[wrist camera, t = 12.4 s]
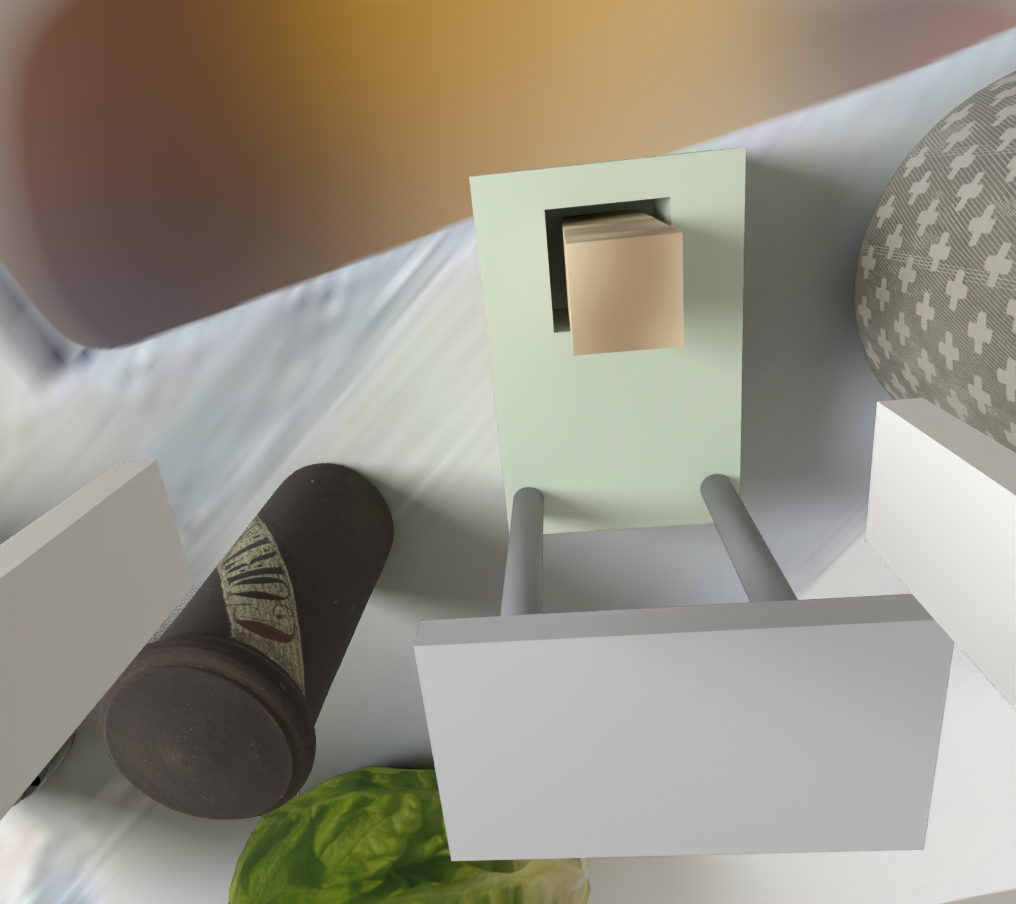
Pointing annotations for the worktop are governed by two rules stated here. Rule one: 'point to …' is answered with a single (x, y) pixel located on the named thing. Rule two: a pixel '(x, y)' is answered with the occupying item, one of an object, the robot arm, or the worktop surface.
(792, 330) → the worktop surface
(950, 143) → the planter
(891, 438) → the robot arm
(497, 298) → the socket station
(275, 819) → the lettuce
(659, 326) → the peg
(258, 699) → the container
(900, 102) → the worktop surface
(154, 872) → the worktop surface
